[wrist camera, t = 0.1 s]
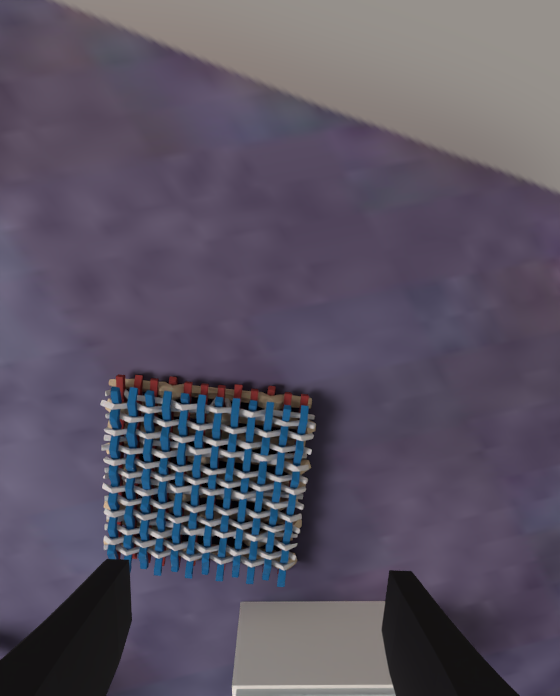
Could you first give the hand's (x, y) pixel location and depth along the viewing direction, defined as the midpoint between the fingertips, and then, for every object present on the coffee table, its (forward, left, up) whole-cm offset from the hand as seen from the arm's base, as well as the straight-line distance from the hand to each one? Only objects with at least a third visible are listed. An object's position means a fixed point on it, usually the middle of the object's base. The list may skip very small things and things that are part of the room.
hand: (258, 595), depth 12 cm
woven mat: (-2, +3, -11) cm, 12 cm away
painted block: (-12, -3, -10) cm, 16 cm away
